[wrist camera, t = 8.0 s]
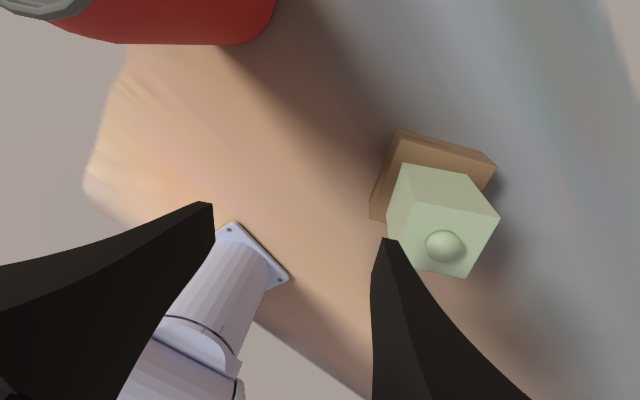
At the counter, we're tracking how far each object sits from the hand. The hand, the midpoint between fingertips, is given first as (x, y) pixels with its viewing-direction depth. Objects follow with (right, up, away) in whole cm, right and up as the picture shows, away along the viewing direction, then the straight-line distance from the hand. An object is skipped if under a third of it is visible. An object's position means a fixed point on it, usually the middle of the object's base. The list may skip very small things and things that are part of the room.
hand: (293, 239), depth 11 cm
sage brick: (+8, +2, +7) cm, 11 cm away
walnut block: (+9, +3, +9) cm, 13 cm away
